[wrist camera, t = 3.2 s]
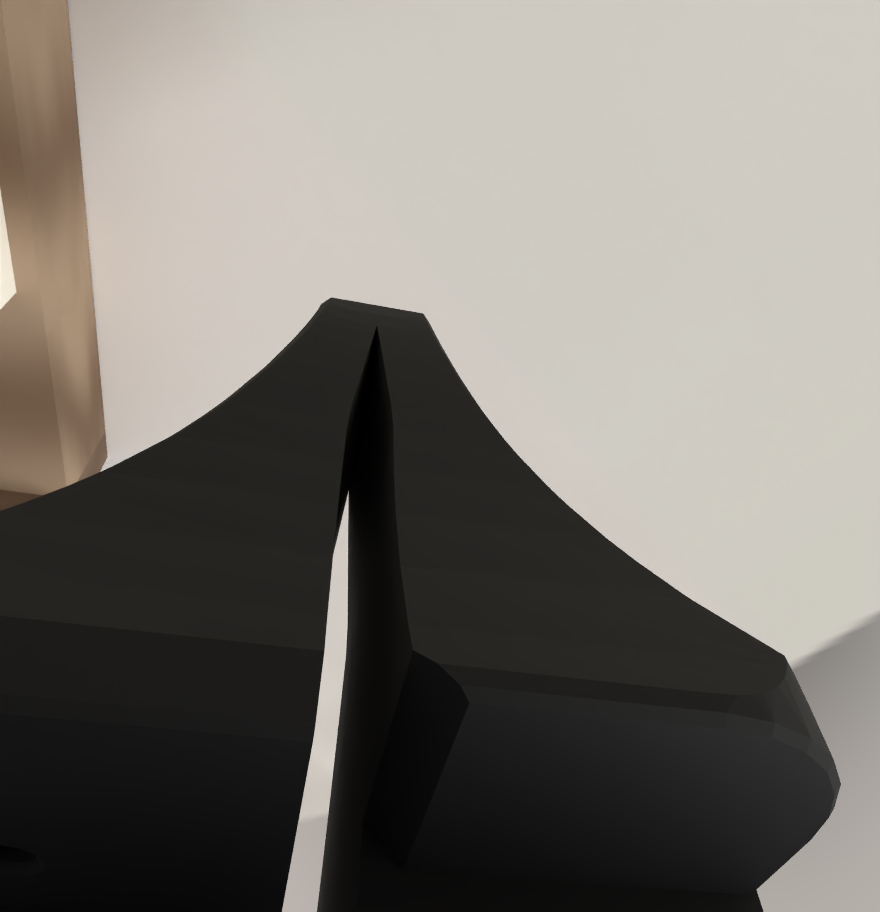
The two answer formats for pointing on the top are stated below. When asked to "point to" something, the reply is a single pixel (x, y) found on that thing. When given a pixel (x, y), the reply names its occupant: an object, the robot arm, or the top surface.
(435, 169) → the top surface
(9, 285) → the cream block
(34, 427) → the trap box
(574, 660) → the robot arm
